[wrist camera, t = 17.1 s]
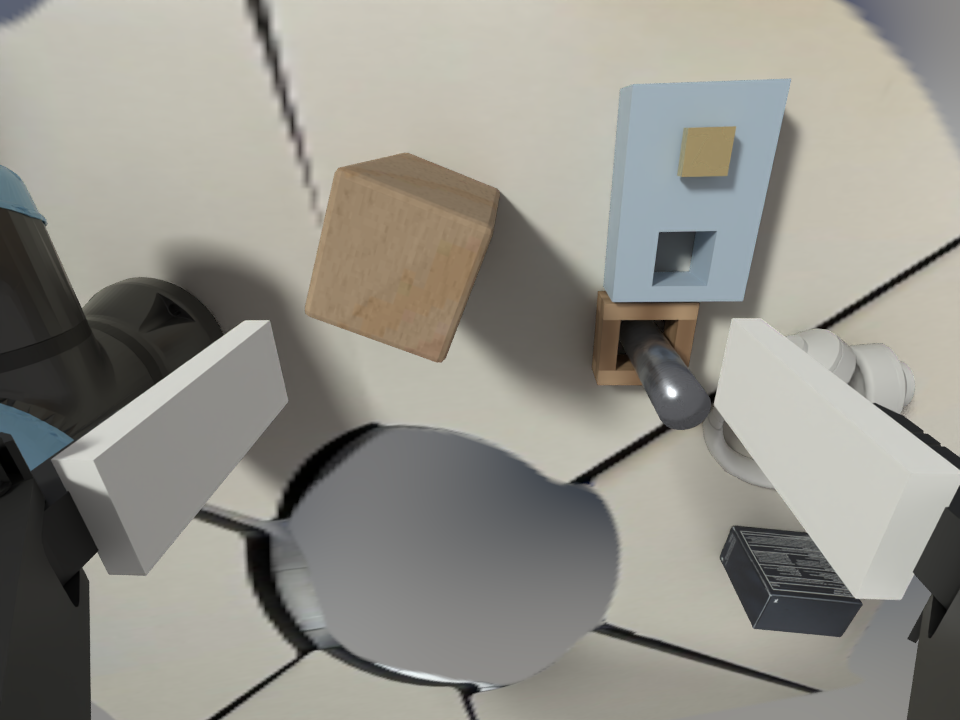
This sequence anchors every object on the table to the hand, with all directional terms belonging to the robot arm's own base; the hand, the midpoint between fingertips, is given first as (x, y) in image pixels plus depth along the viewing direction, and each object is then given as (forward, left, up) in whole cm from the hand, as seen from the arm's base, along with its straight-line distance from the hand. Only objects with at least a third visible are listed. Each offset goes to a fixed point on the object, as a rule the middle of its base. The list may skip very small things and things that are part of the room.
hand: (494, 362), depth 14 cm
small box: (+34, -45, -37) cm, 67 cm away
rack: (+14, -14, -37) cm, 42 cm away
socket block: (+16, 0, -37) cm, 40 cm away
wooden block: (-7, -2, -37) cm, 38 cm away
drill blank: (+14, -14, -37) cm, 42 cm away
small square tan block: (+16, +4, -36) cm, 39 cm away
